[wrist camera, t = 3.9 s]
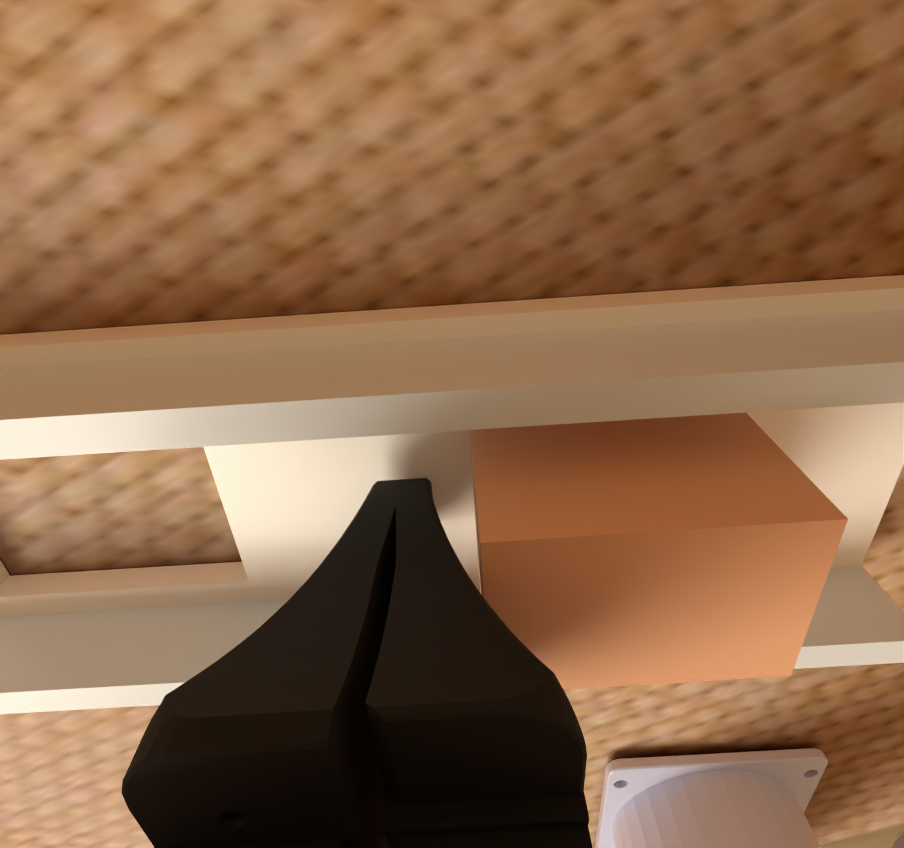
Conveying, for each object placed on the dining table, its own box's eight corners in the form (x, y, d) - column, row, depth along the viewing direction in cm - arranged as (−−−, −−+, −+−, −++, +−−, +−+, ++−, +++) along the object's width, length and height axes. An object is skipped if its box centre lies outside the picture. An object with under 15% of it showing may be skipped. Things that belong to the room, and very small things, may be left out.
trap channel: (831, 577, 17) (909, 673, 14) (-10, 627, 17) (-96, 730, 14) (947, 271, 12) (1098, 325, 9) (-203, 348, 12) (-385, 421, 10)
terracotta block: (708, 538, 15) (791, 675, 11) (477, 553, 15) (488, 693, 11) (736, 402, 13) (848, 518, 9) (469, 421, 13) (480, 542, 9)
